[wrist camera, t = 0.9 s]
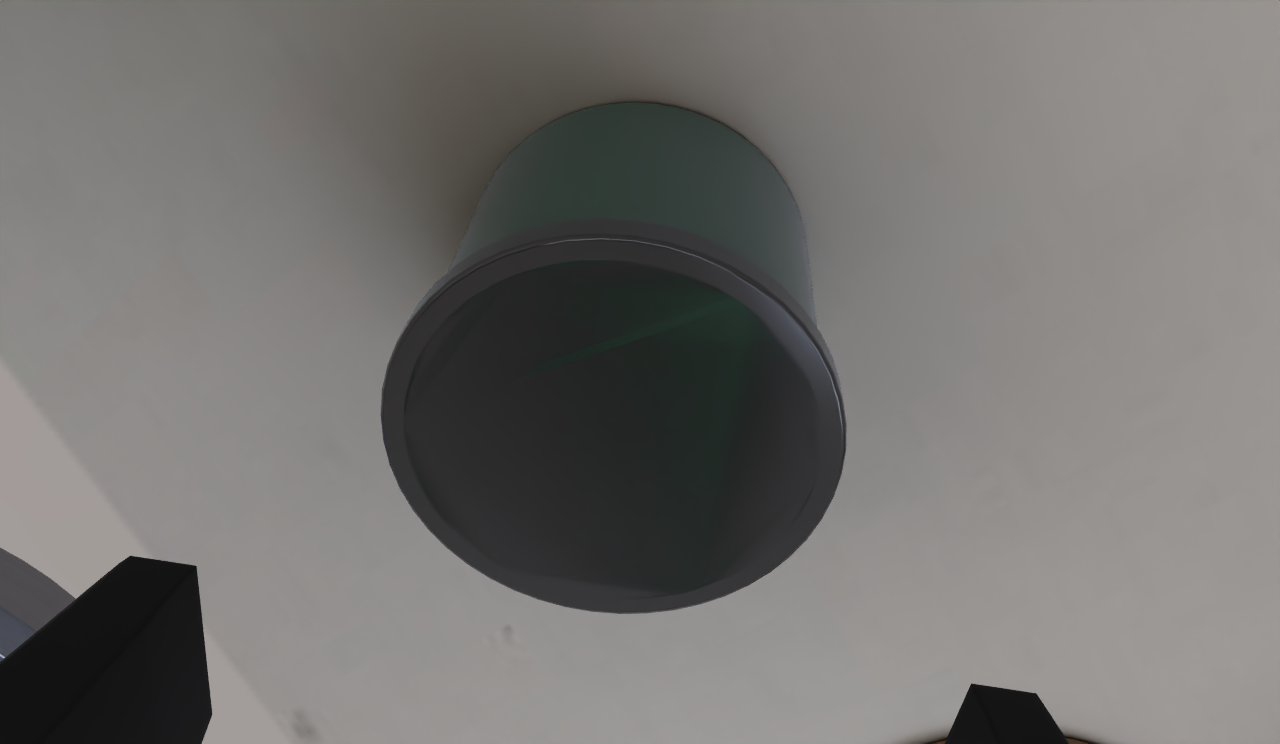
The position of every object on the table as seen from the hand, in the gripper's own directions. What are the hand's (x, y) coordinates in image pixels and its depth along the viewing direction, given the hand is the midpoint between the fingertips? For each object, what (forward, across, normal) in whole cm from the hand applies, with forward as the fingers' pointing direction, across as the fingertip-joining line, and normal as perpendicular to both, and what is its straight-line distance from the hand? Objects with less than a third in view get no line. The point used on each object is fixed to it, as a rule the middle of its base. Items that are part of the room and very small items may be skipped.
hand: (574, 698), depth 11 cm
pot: (+9, 0, 0) cm, 9 cm away
